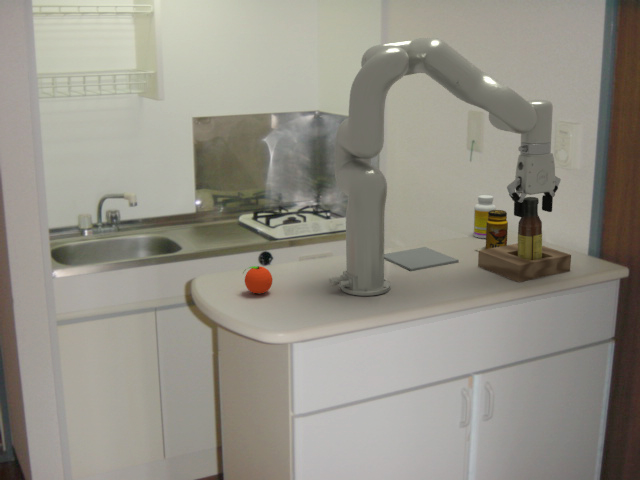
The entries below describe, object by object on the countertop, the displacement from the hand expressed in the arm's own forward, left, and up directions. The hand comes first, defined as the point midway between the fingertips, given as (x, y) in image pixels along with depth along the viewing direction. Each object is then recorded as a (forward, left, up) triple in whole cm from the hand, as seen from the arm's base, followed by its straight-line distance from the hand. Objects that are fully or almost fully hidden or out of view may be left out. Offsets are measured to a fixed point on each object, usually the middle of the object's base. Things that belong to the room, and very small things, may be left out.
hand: (533, 213), depth 197 cm
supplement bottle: (+13, +34, -16) cm, 40 cm away
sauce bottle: (0, 0, -16) cm, 16 cm away
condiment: (+5, +20, -16) cm, 26 cm away
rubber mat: (-19, +24, -16) cm, 35 cm away
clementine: (-70, +21, -16) cm, 75 cm away
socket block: (0, +2, -16) cm, 16 cm away
